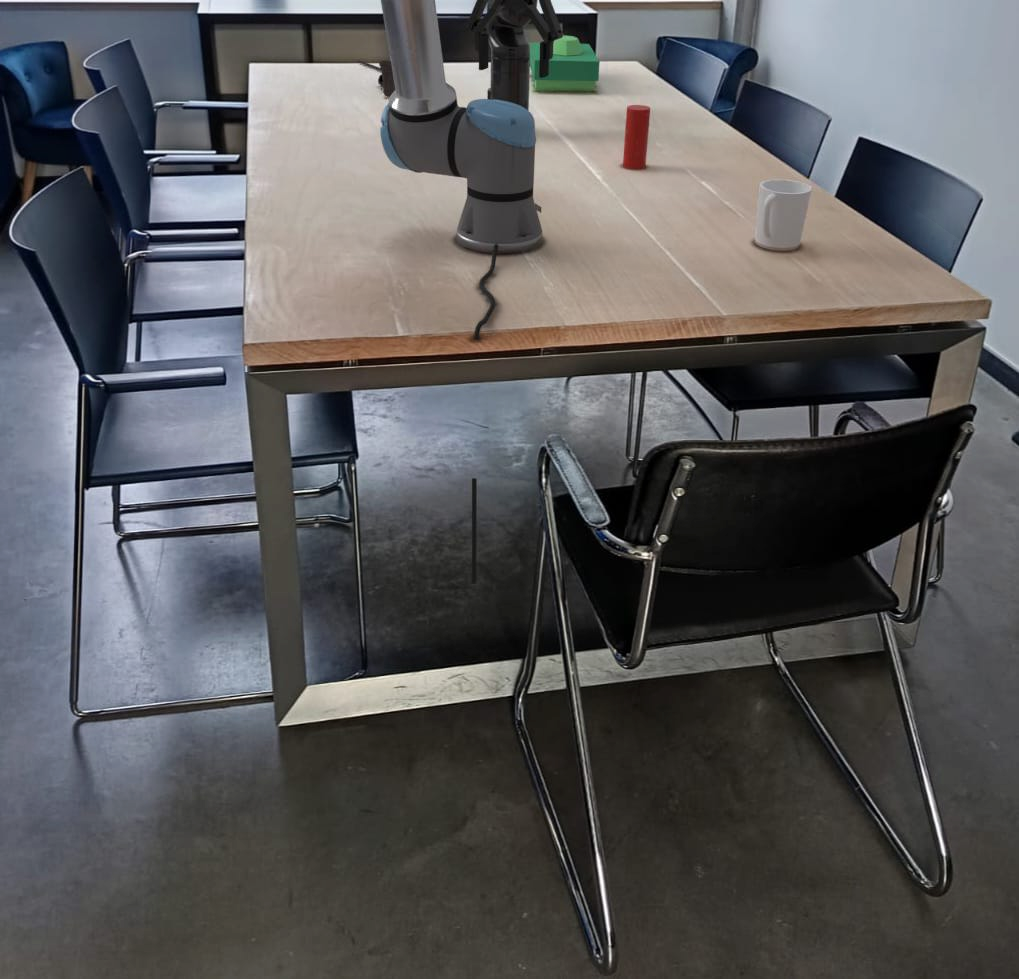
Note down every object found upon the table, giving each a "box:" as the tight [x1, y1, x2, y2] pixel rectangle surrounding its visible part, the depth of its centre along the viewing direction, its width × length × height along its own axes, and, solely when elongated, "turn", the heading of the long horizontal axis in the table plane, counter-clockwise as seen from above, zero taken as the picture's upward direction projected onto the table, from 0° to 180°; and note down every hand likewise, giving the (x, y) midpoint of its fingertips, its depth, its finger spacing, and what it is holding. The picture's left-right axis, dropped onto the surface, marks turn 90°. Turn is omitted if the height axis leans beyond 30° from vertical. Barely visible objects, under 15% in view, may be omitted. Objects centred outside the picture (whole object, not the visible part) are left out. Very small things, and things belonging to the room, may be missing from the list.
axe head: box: [377, 59, 396, 98], centre depth 299 cm, size 18×8×15 cm
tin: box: [622, 104, 651, 170], centre depth 236 cm, size 5×5×12 cm
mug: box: [754, 178, 812, 252], centre depth 194 cm, size 11×9×10 cm
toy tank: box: [529, 34, 601, 92], centre depth 313 cm, size 18×12×35 cm
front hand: (513, 72), depth 219 cm, fingers open, 13 cm apart
